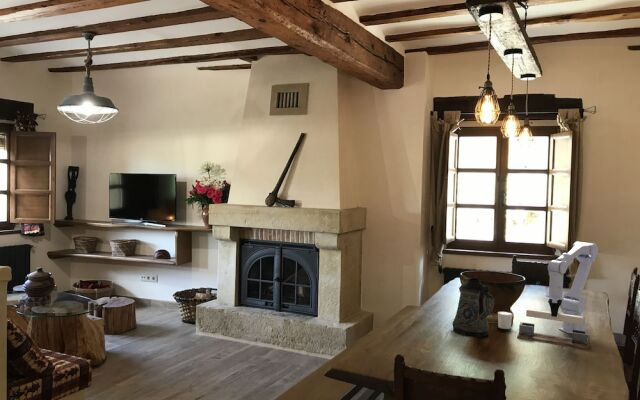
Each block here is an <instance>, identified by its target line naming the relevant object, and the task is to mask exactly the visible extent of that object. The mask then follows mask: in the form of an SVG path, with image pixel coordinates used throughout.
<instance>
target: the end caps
mask: <svg viewBox="0 0 640 400" xmlns="http://www.w3.org/2000/svg"><path fill="white" fill-rule="evenodd" d="M518 333H519V335H523V336H530V337H533V335H534V333H535V323H528V322H522V321H520V323H519V326H518ZM571 335H572V336H571V338H572V343H576V344H582V345H587V341H589V339H588V338H589V337H588V331H586V330H585V331H580V330H573V333H571Z"/></svg>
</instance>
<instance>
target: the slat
mask: <svg viewBox="0 0 640 400" xmlns="http://www.w3.org/2000/svg"><path fill="white" fill-rule="evenodd" d="M525 312H526V313H525V316H526V317H528V318H535V319H543V320H550V321H557V322H562V323H563V322H569V323H576V324H583V316H576V315H569V314H563V312H562V313H560V312H558V314H557V317H554V316H552V315H551V311H546V310H539V309H531V308H526V311H525Z"/></svg>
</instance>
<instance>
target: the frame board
mask: <svg viewBox="0 0 640 400" xmlns="http://www.w3.org/2000/svg"><path fill="white" fill-rule="evenodd" d="M516 338H517V339H521V340H527V341H528V340H529V341H534V342H542V343H548V344H553V345H554V344H555V345H561V346H567V347H574V348H580V349H586V350H587V349H589V340H587V345H582V344H576V343H572V337H567V336H566V337H565V336H558V335H553V334H546V333H537V332H534V335H533V337H530V336H523V335H519V332H517V336H516Z"/></svg>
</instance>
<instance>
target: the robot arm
mask: <svg viewBox="0 0 640 400" xmlns="http://www.w3.org/2000/svg"><path fill="white" fill-rule="evenodd" d="M598 253H599V247H598V244H597V243H594V242H593V243H592V242H583V241H575V242H574V243H573V244H572V248H571V249H570V250H569V251H568V252H563V253H562V254H561V255H560V256H559V257H557V258H556V259H553V260H550V261H549V262H548V265H547V271H548V276H549V285H548V286H549V289H548V294H546V295H545V297H547V298H548V301H547V303H548V305H549V308H550V312H551V315H552V316H554V317H557V314H558V313H559V309H560V310H561V312H562V314H569V315H576V316H583V324H576V323H569V322H562V327H558V330H560V331H562V332H564V333H567V334H572V333H573V330H580V331H586V316H585V314H583V313H584V311H585V305H586V300H585V299H586V298H585V297H583V296H582V294H583V292H584V289H585V286H586V283H587V279H588V277H589V274H590V271H591V268H592V264H593V263H595V262H596V259H597V257H598ZM575 259H576V260H577V261H578V262H579V265H578V268H577V270H576V273H575V276H574V279H573V282H572V283H571V284H572V285H571V288H570V291H568V292H565V293H563V291H564V274H566V272H567V270H568V268H569V266H571V265H572V264H573V263H574V260H575Z"/></svg>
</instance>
